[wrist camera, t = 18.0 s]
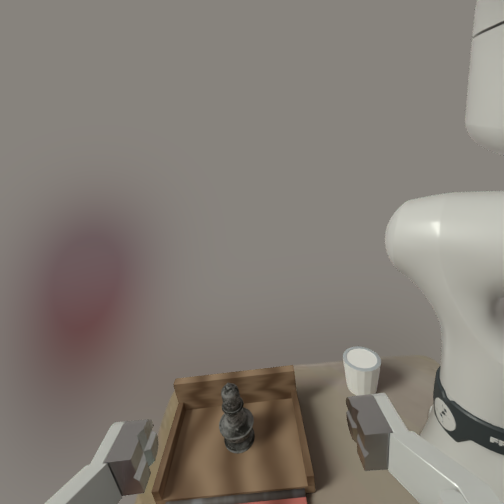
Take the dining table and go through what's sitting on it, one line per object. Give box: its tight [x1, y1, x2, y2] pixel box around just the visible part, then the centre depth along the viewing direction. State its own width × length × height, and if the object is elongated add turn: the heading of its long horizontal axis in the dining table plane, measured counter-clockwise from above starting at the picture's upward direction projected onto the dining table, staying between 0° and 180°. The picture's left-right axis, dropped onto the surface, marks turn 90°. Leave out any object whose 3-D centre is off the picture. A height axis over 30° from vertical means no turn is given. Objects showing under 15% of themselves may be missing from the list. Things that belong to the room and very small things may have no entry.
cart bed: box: [152, 365, 315, 504], centre depth 41 cm, size 23×21×8 cm
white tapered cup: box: [343, 347, 381, 396], centre depth 51 cm, size 7×7×7 cm
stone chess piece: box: [219, 382, 255, 454], centre depth 42 cm, size 6×6×12 cm
